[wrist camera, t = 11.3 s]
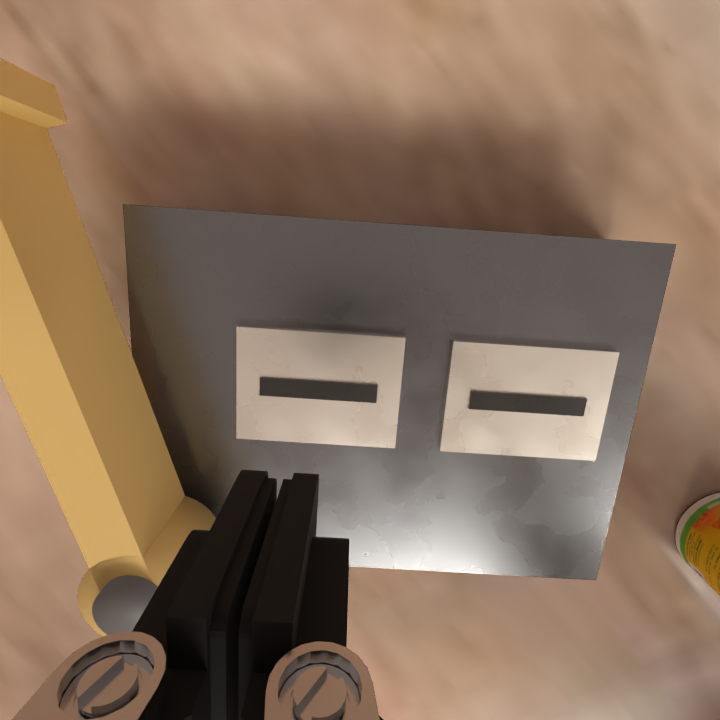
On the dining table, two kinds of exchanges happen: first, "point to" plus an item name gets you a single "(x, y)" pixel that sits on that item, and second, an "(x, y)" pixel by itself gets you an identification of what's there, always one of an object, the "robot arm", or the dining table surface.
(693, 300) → the dining table surface
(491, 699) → the dining table surface
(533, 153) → the dining table surface
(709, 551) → the supplement bottle
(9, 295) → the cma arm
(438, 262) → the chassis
